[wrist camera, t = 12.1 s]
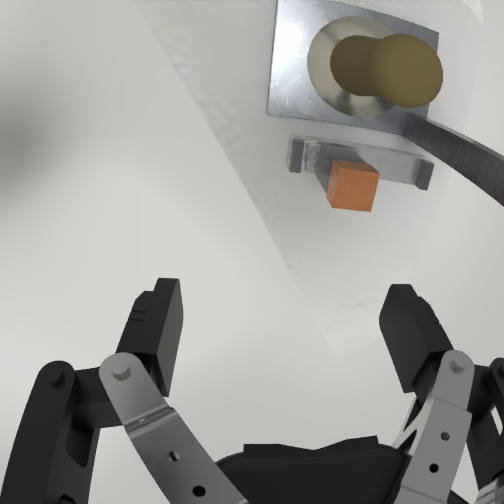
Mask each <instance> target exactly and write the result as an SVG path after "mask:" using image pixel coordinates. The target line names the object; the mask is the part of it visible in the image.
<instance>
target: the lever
mask: <svg viewBox="0 0 504 504" xmlns="http://www.w3.org/2000/svg"><path fill="white" fill-rule="evenodd" d="M304 169H305V171H306V172H312V173H316V175H317V177H318V179H319V181H320V183H321V185H322V186H323V188H324V190H325V192H326V194H327V196H326V197H327V199H328V201H329V203H330V205H331V207H332V208H339V209H349V210H359V211H368V212H371V208H372V204H373V200H374V196H375V192H376V188H377V184H378V180H379V175H380V173H379V172H378V171H377V170H376V169H375V168H374V167H373V166H372V165H369V164H367V163H366V162H365V161H364V160H363V159H362V158H361V152H360V151H359V150H358V149H351V148H345V147H338V146H330V145H323V144H315V143H308V147H307V154H306V161H305V168H304Z"/></svg>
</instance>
